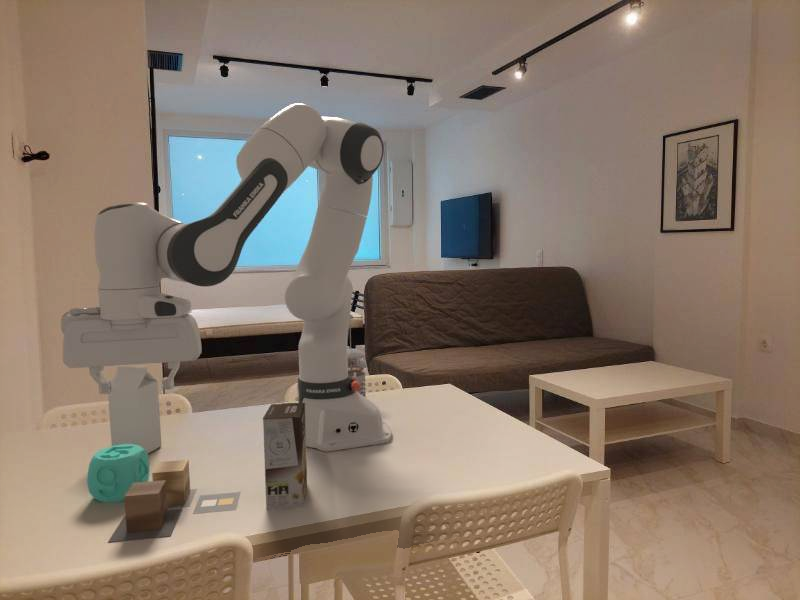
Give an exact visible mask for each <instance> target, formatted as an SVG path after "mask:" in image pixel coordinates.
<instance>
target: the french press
mask: <svg viewBox="0 0 800 600" xmlns="http://www.w3.org/2000/svg"><path fill="white" fill-rule="evenodd" d="M353 319H354V316H353V314H350V320H353ZM351 326H352V325H349V345H350V346H349V348H347V360H350V361H351V362H353V365H352V364H350V365H348V375H349V376H351V377H352V376H353V377H354V378H355V379H356V380H357V381H358V382H359V383H360V386H361V387H360V389H359V390H358V391H357V392H358V393H359V394H361V395H362V396H364V397H365V398H366V397H367V396H366V395H367V394H366V372H364V367H363V366H361V362H360V359H361V358H364V357H365V356H366V353H365V352H363V351H362V350H359V349H358V348H352V339H351V338H352V335H351V332H352V331H351V330H352V329H351V328H352V327H351ZM355 359H356V360H355ZM357 361H358V365H355V362H357Z"/></svg>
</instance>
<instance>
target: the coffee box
mask: <svg viewBox="0 0 800 600" xmlns="http://www.w3.org/2000/svg"><path fill="white" fill-rule="evenodd" d="M262 422H263V424H262V425H263V447H264V448H263V451H264V453H263V455H264V478H265V481H264V482H265V509H266V510H278V509H294V508H295V509H296V508H302V507H303V506H304V502H305V496H306V492H307V489H308V488H307V487H308V471H307V470H308V468H307V467H308V466H307V446H306V428H305V403H299V402H287V403H271V404H270V406H269V407H268V409H267V410H266V412H265V414H264V415H263V417H262Z"/></svg>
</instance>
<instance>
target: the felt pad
mask: <svg viewBox="0 0 800 600" xmlns="http://www.w3.org/2000/svg"><path fill="white" fill-rule="evenodd" d="M182 512H183V508H177V509H168V516H167V518H166V520H165V522H164V524H163V526H162V528H161V530H155V531H145V532H135V533H127V529H126V514H124V516H123V518H122V519H121V521H120V522H119V524H118V525H117V527H116V528H115V530H114V531H113V534H112V535H111V536H110V538H109V540H108V541H107V543H109V544H110V543H118V542H119V543H120V542H130V541H137V540H138V541H142V540H148V539H150V540H151V539H161V538H169V537H171V536H172V534H173V533H174V530H175V528H176V525H177V523H178V521H179V519H180V516H181V514H182Z"/></svg>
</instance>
